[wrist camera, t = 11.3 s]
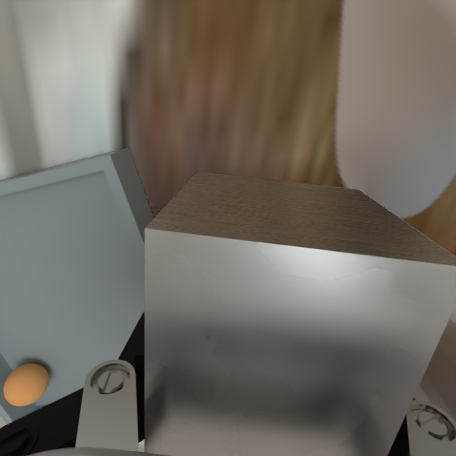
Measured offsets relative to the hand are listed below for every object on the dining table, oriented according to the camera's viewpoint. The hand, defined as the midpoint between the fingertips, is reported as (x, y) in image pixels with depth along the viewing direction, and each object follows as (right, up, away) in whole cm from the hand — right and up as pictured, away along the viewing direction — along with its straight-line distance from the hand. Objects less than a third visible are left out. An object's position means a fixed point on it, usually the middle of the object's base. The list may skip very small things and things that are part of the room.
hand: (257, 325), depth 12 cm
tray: (-15, -3, +16) cm, 22 cm away
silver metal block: (0, 0, +1) cm, 1 cm away
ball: (-20, -11, +16) cm, 28 cm away
